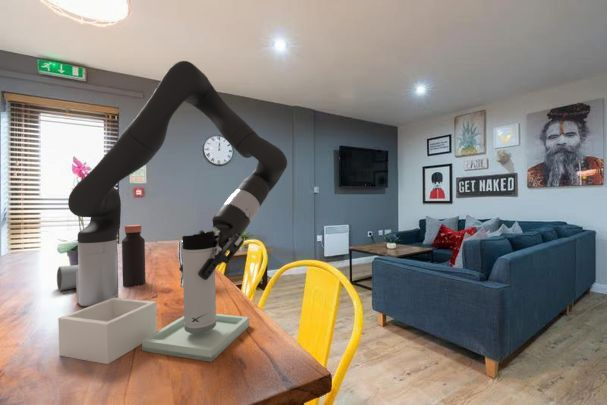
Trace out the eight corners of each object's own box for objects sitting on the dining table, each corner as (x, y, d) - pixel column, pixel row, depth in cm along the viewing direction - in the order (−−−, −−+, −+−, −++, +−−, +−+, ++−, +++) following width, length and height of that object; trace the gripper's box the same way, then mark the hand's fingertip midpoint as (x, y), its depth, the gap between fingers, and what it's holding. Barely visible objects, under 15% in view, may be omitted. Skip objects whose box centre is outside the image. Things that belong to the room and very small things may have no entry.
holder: (59, 355, 55) (58, 318, 55) (114, 328, 66) (113, 297, 66) (107, 364, 52) (106, 324, 52) (156, 334, 63) (156, 302, 63)
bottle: (128, 281, 104) (127, 224, 103) (148, 281, 104) (147, 224, 104) (118, 287, 97) (117, 226, 97) (140, 286, 98) (138, 226, 97)
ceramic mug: (92, 286, 98) (92, 263, 98) (61, 293, 92) (61, 268, 92) (83, 281, 105) (82, 260, 105) (53, 287, 99) (53, 264, 99)
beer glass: (193, 288, 95) (192, 241, 95) (173, 287, 97) (173, 241, 96) (204, 282, 102) (203, 238, 102) (186, 281, 103) (185, 238, 103)
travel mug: (199, 337, 57) (196, 234, 57) (177, 329, 61) (175, 232, 60) (223, 325, 62) (221, 230, 62) (202, 318, 66) (200, 229, 65)
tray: (142, 350, 56) (141, 340, 56) (192, 319, 71) (191, 311, 71) (211, 361, 52) (211, 350, 52) (249, 325, 67) (249, 317, 67)
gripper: (208, 202, 71) (161, 259, 62) (249, 202, 62) (200, 269, 53) (227, 222, 76) (185, 279, 66) (267, 225, 67) (225, 291, 58)
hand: (192, 274), depth 60 cm, fingers closed on travel mug, 6 cm apart
